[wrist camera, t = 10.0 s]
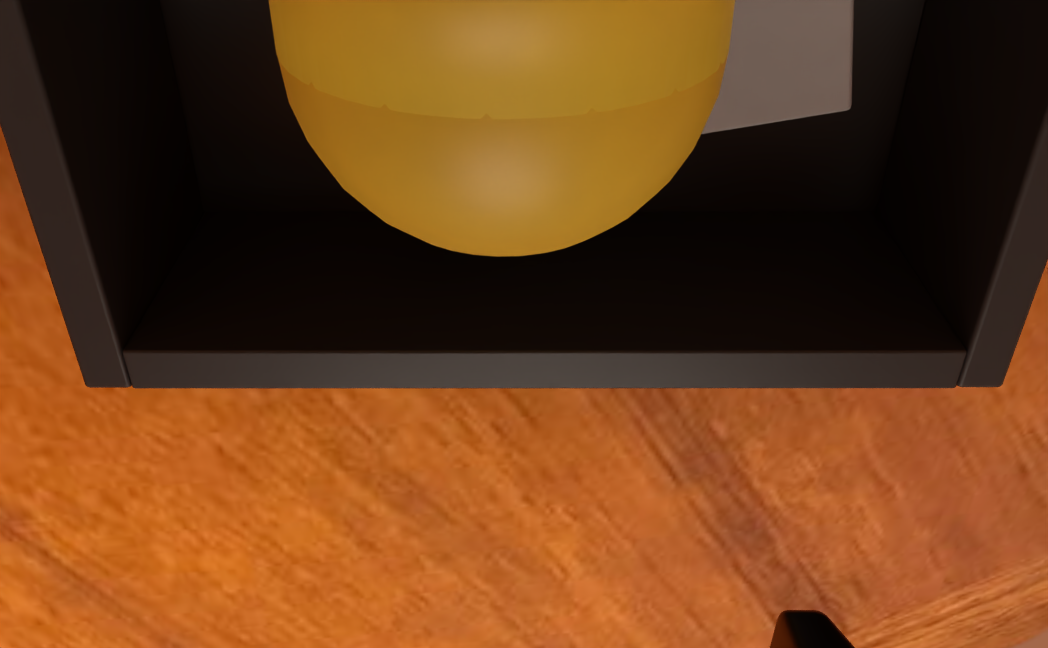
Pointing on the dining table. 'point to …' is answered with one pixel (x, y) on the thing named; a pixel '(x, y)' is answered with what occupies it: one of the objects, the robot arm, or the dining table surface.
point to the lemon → (502, 109)
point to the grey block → (785, 62)
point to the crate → (540, 279)
